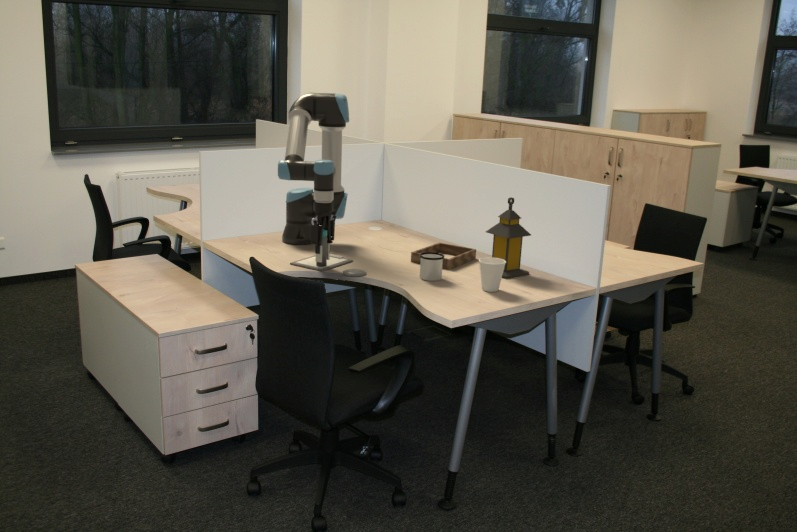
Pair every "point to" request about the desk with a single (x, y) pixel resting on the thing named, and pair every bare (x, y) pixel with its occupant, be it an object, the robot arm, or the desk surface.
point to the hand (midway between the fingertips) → (322, 260)
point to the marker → (323, 250)
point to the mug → (431, 266)
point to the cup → (491, 273)
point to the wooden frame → (460, 252)
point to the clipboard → (333, 262)
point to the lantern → (509, 242)
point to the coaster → (354, 272)
